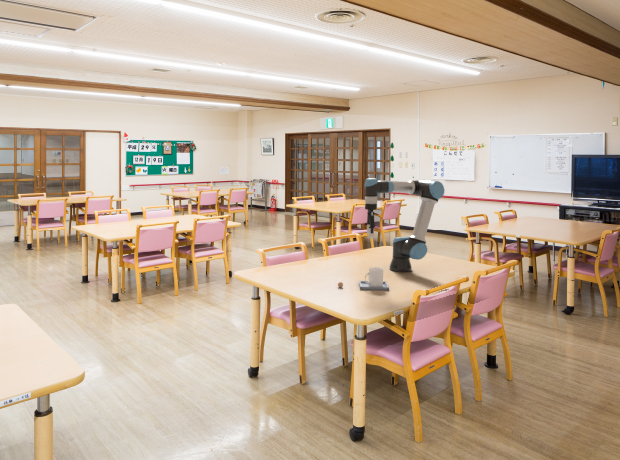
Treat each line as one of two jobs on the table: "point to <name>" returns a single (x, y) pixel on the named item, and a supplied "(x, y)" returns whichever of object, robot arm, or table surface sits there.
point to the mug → (375, 277)
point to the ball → (340, 284)
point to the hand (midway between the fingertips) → (370, 236)
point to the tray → (366, 287)
